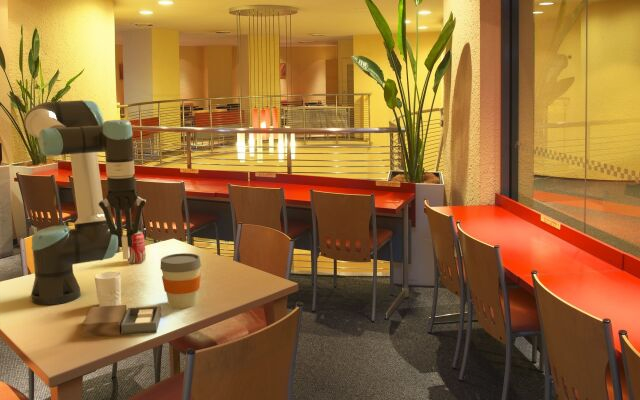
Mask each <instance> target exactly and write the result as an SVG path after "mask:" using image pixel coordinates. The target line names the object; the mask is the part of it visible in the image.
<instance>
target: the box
mask: <svg viewBox="0 0 640 400" xmlns="http://www.w3.org/2000/svg"><path fill="white" fill-rule="evenodd" d="M142 309H153V313H154V316H153V319H152V320H151V322H144V323H135V322H136V319H137V318H138V312H139V310H142ZM161 316H162V309H161V305H157V306H153V305H152V306H139V307H138V306H136V307H127V312H126V314H125V317H124V319H123V322H122V324H121V330H122V332H121V335H122V336H126V335H127V336H128V335H130V336H131V335H141V334H142V335H143V334H156V333H157V331H158V329H159V326H160V325H159V324H160V321H161Z"/></svg>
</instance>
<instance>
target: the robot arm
mask: <svg viewBox="0 0 640 400" xmlns="http://www.w3.org/2000/svg"><path fill="white" fill-rule="evenodd" d="M23 125H24V127H25V128H24V129H25V130H26V131H27V132H28V134H29V135H30V136H32V137H33V138H36V139H38V143H39V149H40V151H41V154H42V155H44V156H45V157H46V156H54V157H58V156H63V155H64V156H65V155H69V156H70V162H71V171H72V180H73V187H74V195H75V203H76V210H77V219H76V221H74V223H73V225H74V228H70V226H68V225H66V224H65V225H64V224H61V225H54V226H53V225H52V226H49V227H45V228H42V229H40V230H38V231H36V232H34V234H32V236H31V250H32V257H33V258H32V259H33V269H34V280H33V285H32V289H31V295H30V297H31V298H30V299H31V302H32V303H33V304H35V305H41V306H47V305H48V306H50V305H59V304H65V303H69V302H72V301H75V300H77V299H78V298H80V297H81V287H80V285H79V283H78V281H77V278H76V276H75V274H74V269H73V268H74V267H73V265H78V264H83V263H84V264H85V263H90V262H97V261H103V260H108V259H112V258H113V257H115V255H116V253H117V252H118V247H119V248H121V249H122V250H121V251H122V259H123V260H128V259H129V257H130V251H129V247H132V245H133V239H132V235H133V234H136V233H137V232H138V231H140V230H139V229H140V224H141V218H142V215H143V208H144V207H145V204H146V203H147V199H146V198H142V197H140V196H139V194H138V193H137V189H136V188H137V187H136V177H135V176H134V175H135V173H136V172H135V171H136V169H135V160H134V159H135V158H134V144H133V143H134V141H133V135H134V133H133V130H132V129H133V128H132V123H131V121H130V120H127V119H109V120H105V121H104V118H103V113H102V111H101V108H100V107H99V105H98V104H97V102H95V101H93V100H83V99H80V100H68V101H67V100H65V101H64V100H63V101H47V102H42V103H39V104H37V105H35V106H33V107H32V108H30V109H29V110H28V112H26V114H25V116H24V121H23ZM98 153H104V154H105V172H106V176H107V178H106V182H107V183H106V185H107V194H106V196H105V198H103V190H102V189H103V188H102V184H101V183H102V181H101V174H100V173H101V172H100V166H99V158H98V157H99V156H98ZM135 202H136V205H137V210H136V215H135V219H134V224H133V223H132V206H134V204H135ZM109 205H111V206H112V207H113V209H114V210H115V211H114V213H115V221H116V224H115V223H114V220H113V216H112V213H111V211H110V208H109ZM122 210H124V214H125V217H124V218H125V229H126V234H124V228H123V215H122V214H123V211H122Z"/></svg>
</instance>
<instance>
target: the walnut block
mask: <svg viewBox="0 0 640 400" xmlns="http://www.w3.org/2000/svg"><path fill="white" fill-rule="evenodd" d="M127 310H128V308H127V305H126V304H121V305H117V306H101V307H99V306H91V308H90V310H89V311H88V313H87V314H86V316H85V318H84V320H82V323H81V329H82V338H84V339H86V338H99V337H112V336H121V335H122V330H121V324H122V322H123V319H124V317H125V314H126V312H127Z"/></svg>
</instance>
